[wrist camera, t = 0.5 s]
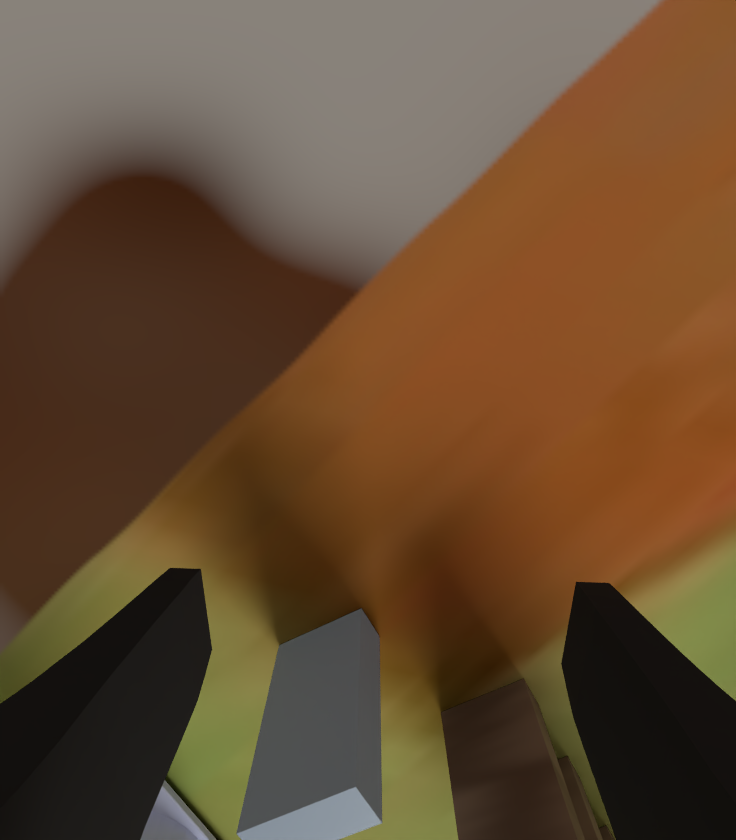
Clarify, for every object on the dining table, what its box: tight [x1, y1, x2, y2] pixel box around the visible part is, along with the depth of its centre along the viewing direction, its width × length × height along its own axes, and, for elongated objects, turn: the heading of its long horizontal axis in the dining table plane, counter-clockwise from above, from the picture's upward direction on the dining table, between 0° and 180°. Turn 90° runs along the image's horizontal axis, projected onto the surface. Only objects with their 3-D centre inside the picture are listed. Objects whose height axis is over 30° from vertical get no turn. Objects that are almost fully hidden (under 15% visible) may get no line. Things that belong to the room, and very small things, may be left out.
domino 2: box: [441, 679, 585, 840], centre depth 22 cm, size 4×2×8 cm, turn 118°
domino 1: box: [237, 608, 382, 840], centre depth 20 cm, size 4×2×8 cm, turn 118°
